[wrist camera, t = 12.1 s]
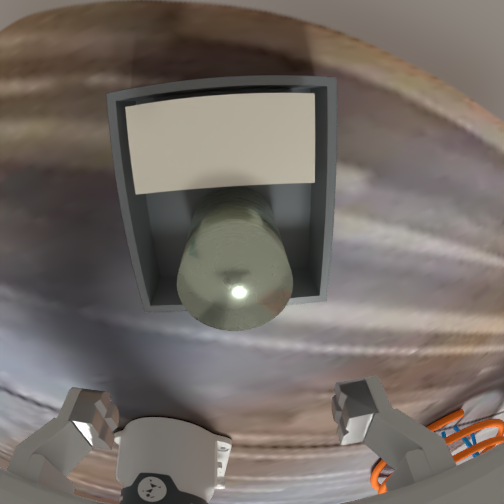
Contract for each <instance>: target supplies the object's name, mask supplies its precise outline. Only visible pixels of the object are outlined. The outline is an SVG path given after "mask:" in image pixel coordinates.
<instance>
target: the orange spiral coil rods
mask: <svg viewBox="0 0 504 504" xmlns="http://www.w3.org/2000/svg"><path fill="white" fill-rule="evenodd" d="M463 416H464V411H463V409H460V410H458V411H456V412H453V413H451V414H449V415H447V416H445V417H443V418H441V419H439V420H437V421H436V422H434V423H432V424H430V425H429V426H427V427H426V428H428V429H429V430H431V431H435V430H437V429H439V428H440V427H442V426H444V425H446V424H448V423H450V422H452V421H454V420H456V419H458V418H461V417H463ZM493 426H496V427H498V428H499V431H498V433H497V435H496V437H493V438H490V439H487V440H484V441H482V442H480V443H478V444H476V439H475V435H474V432H476V431H479V430H481V429H484V428H488V427H493ZM454 430H455V431H456V433H454V434H452V435H450V436H448V437H446V434H445V431H444V432H442V433H441V434H442V438H444V440H445V442H446V444H447V446H448V445H449V444H451V443H453V442H455V441H457V440H459V439H461V438H462V439H463V441H464V442H465V444H466V446H467V447H468V448H467V449H465V450H463V451H461V452H459V453H457V454H456V455H454V456H452V457H453V459H454V461H455V463H456V462H458V461H460V460H462V459H464V458H466V457H468V456H469V455H473V457H476V456H478V455H480V454H482V453H484V452H486V451H488V450H490V449H492V448H493V447H494V446H495V445H496V444H501V443H502V442H504V436H503V434H504V422H503V421H502V420H500V419H489V420H485V421H482V422H479V423H476V424H474V425H471V426H469V427H467V428H464V429H462V430H459V428H458V427H457V426H455V427H454ZM469 434H471V436H472V441H473V445H472V444H471V443H470V442H469V440H468V439H467V438H466V437H465V436H467V435H469ZM484 448H485V449H484ZM482 449H484V450H483V451H482V452H481V453H480V454H479V453H478V451H480V450H482ZM386 465H387V463H386V462H385V461H384V460H383V459H382V460H381V461H380V462H379V463H378V464H377V466H376V467H375V468H374V470H373V472H372V474H371V478H370V482H371V485H372V486H373V488H374V489H376V490H378V494H382V493H385V492H388V491H387V488H386V485H385V483H386V481H387V480H388V478H389V477H390V476H391V474H390V475H389V476H388V477H387V478H386V479H385V480H384V482H383V483H382V484H379V482H378V475H379V474H380V472H381V471H382V469H383V468H384V467H385V466H386Z"/></svg>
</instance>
